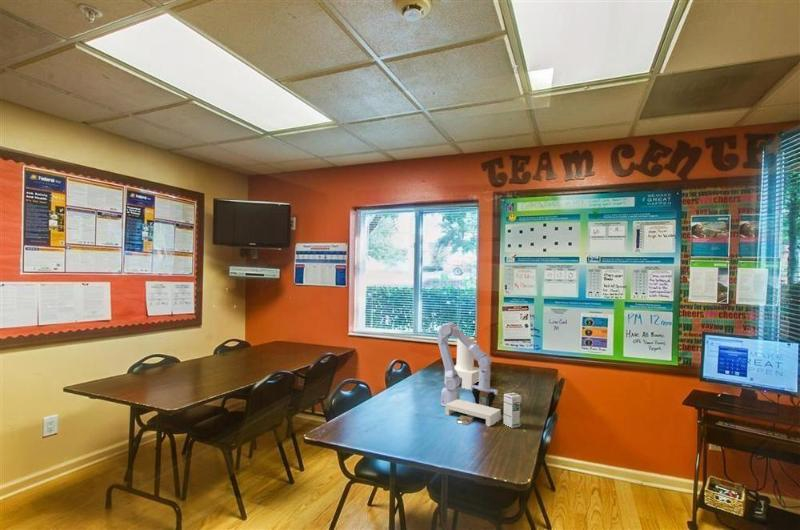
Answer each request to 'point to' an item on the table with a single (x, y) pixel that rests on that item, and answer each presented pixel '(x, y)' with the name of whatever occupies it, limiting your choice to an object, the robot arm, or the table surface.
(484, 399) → the gray rectangular block
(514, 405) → the syrup box
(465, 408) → the low shelf
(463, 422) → the steel disc
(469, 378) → the white column on base
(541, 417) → the table surface
